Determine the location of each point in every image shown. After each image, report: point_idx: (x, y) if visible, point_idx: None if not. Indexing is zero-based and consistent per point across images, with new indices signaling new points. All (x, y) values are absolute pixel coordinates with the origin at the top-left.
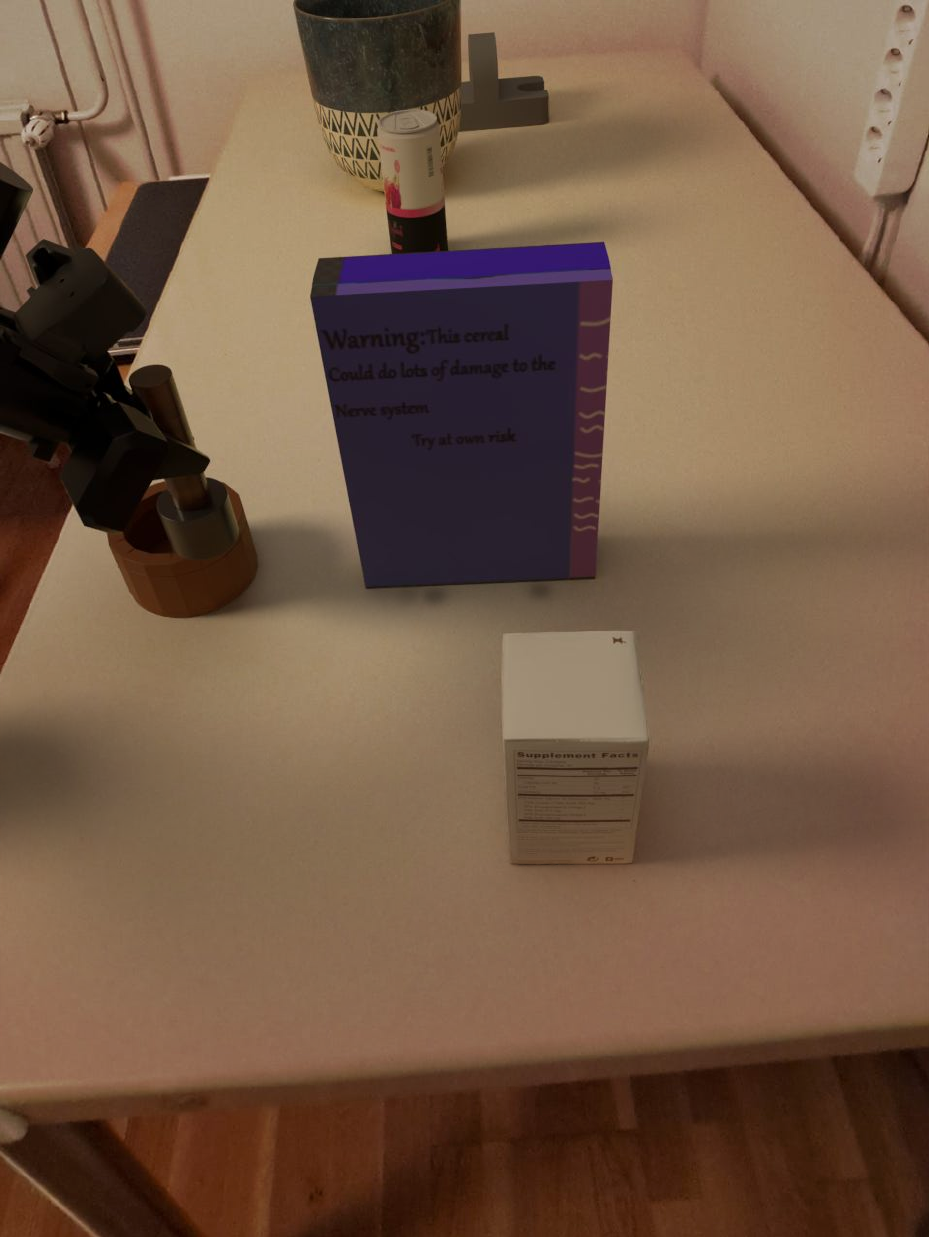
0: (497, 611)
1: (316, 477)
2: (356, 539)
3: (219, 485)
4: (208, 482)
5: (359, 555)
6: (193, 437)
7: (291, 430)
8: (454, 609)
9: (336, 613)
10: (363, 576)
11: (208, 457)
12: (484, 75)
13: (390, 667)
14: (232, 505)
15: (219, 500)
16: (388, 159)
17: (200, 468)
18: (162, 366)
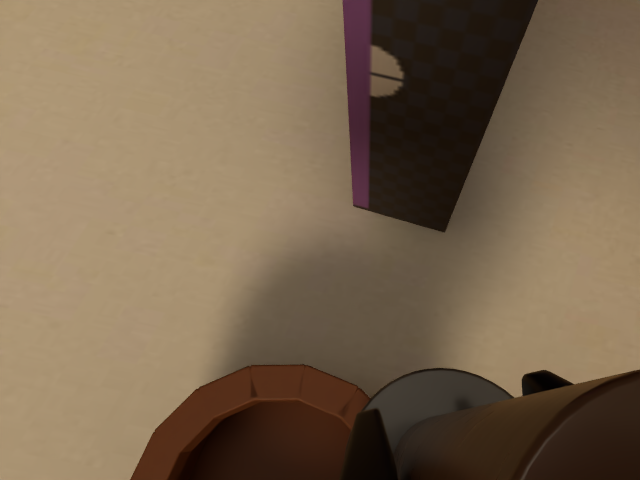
0: (544, 88)
1: (151, 245)
2: (462, 185)
3: (412, 385)
4: (386, 413)
5: (456, 202)
6: (378, 409)
7: (7, 258)
8: (525, 134)
9: (484, 285)
10: (448, 222)
11: (543, 372)
12: None
13: (621, 237)
14: (284, 385)
15: (485, 396)
16: None
17: None
18: (583, 451)
